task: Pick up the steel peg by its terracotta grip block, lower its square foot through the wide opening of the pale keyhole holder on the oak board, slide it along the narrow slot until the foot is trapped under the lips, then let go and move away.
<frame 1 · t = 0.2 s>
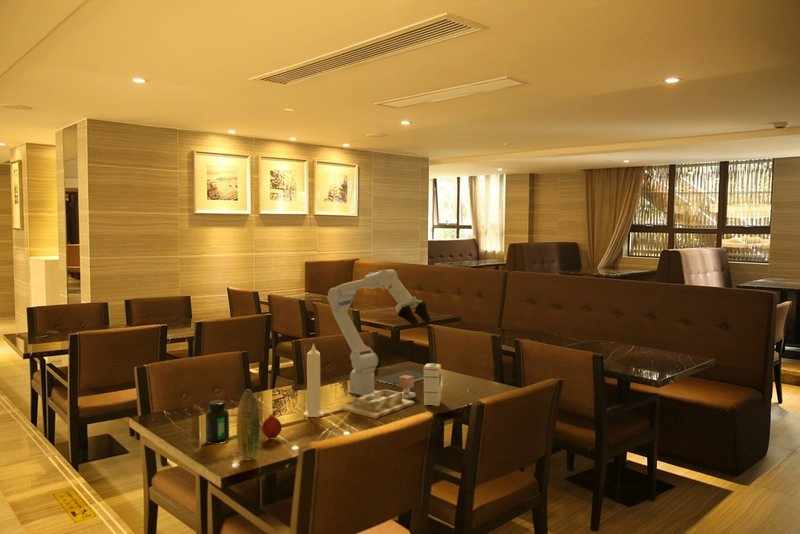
hand: (422, 322, 217), 31 cm above the table, tool tilted 45°, fingers open, 7 cm apart
notebook: (403, 380, 258), on the table
supplement bottle: (217, 441, 182), on the table
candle: (313, 415, 208), on the table
onion: (271, 440, 183), on the table
holder: (382, 405, 219), on the table
syrup box: (432, 404, 221), on the table
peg: (406, 397, 230), on the table
vegetable: (248, 459, 168), on the table
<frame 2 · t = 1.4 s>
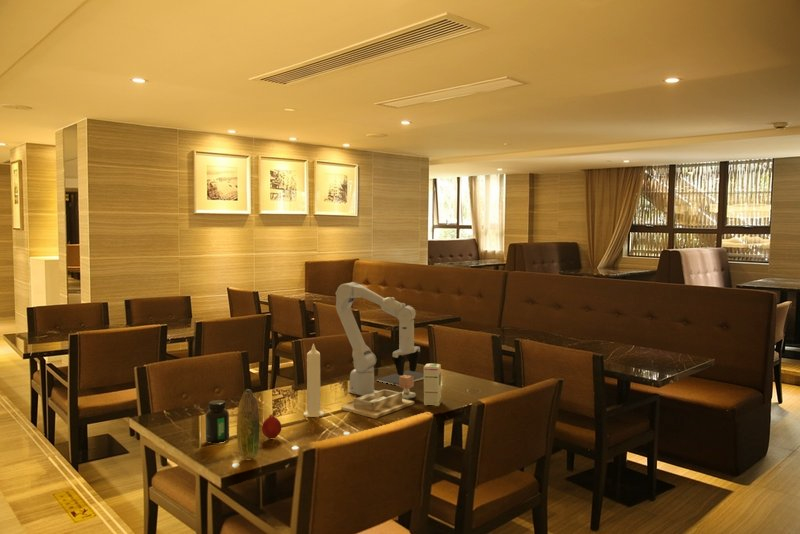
hand: (406, 373, 230), 9 cm above the table, tool pointing down, fingers open, 7 cm apart
nothing on the table moved.
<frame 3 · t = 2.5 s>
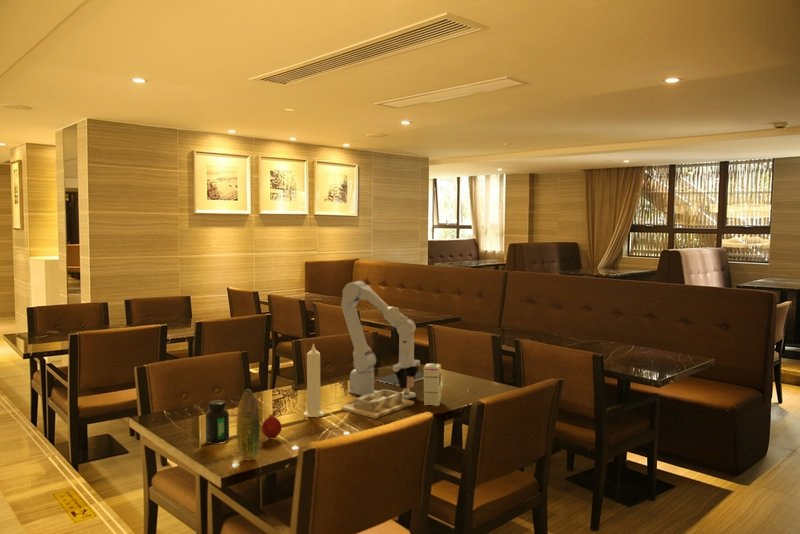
hand: (406, 386, 230), 4 cm above the table, tool pointing down, fingers closed on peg, 4 cm apart
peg: (406, 396, 230), on the table, touching gripper
everything else where it was.
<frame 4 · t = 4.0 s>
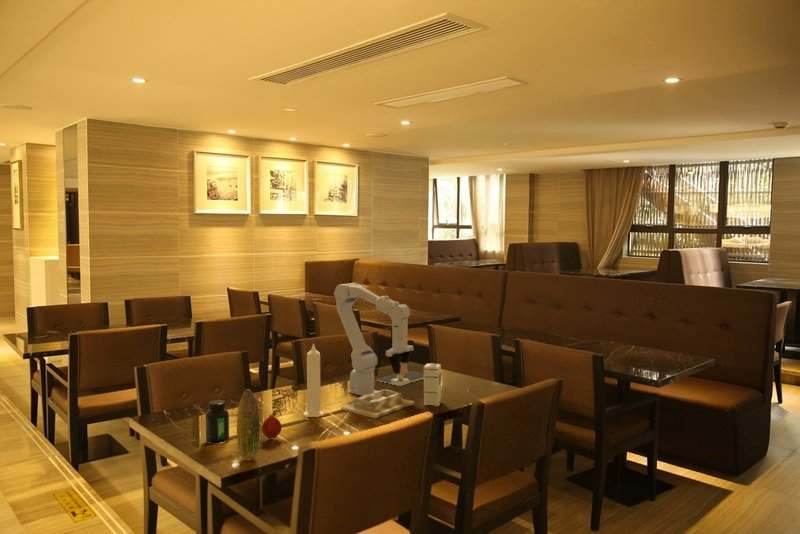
hand: (399, 372, 226), 10 cm above the table, tool pointing down, fingers closed on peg, 4 cm apart
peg: (400, 383, 227), point 6 cm above the table, touching gripper
everything else where it was.
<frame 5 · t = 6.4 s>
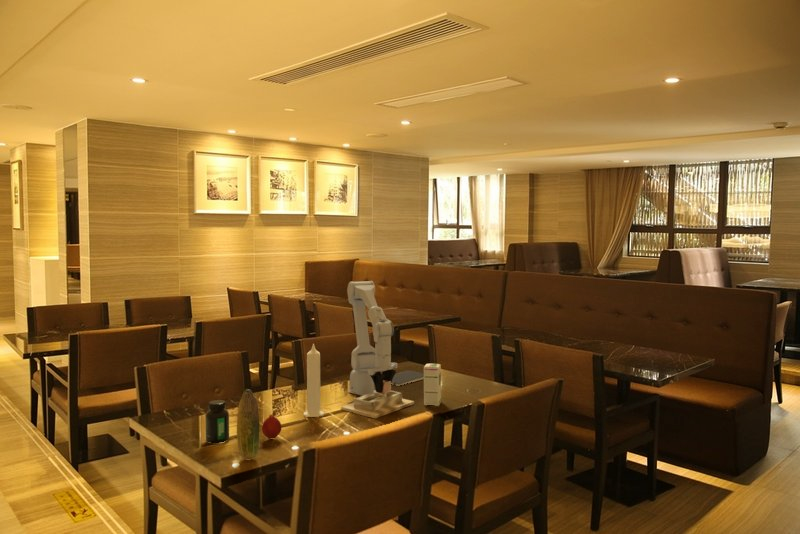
hand: (382, 390, 219), 5 cm above the table, tool pointing down, fingers closed on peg, 4 cm apart
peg: (383, 402, 219), point 1 cm above the table, touching gripper
everything else where it was.
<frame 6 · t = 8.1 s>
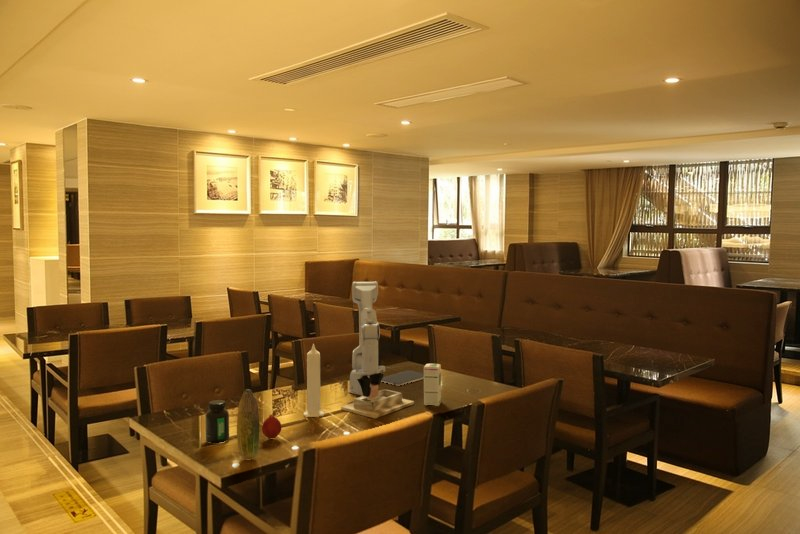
hand: (370, 395, 214), 5 cm above the table, tool pointing down, fingers closed on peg, 4 cm apart
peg: (370, 406, 214), point 1 cm above the table, touching gripper
everything else where it was.
when the fingers open (5 cm above the table, at t = 9.0 s): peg stays where it is, resting on holder.
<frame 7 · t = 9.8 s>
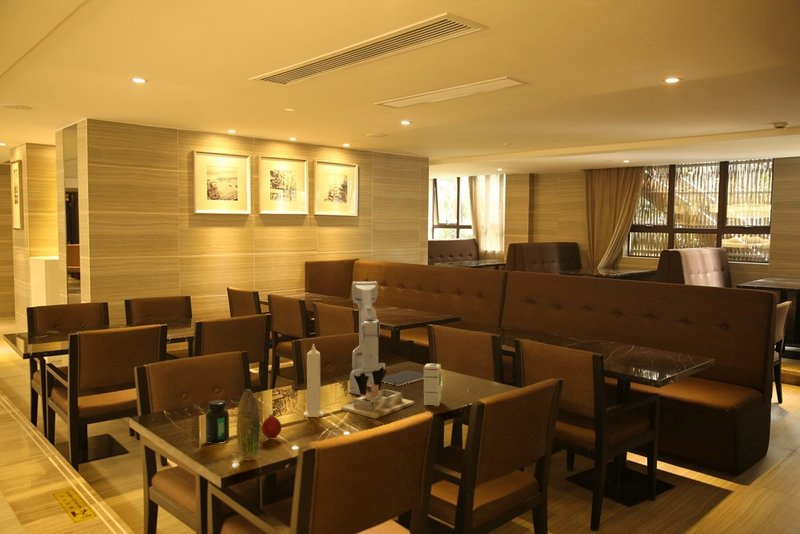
hand: (370, 392, 214), 6 cm above the table, tool pointing down, fingers open, 7 cm apart
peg: (370, 406, 214), point 1 cm above the table, touching holder
everything else where it was.
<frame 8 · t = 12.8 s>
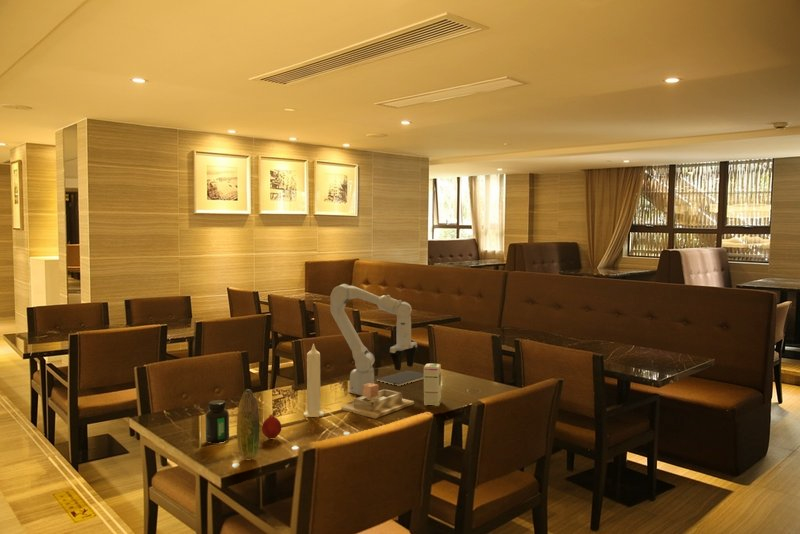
hand: (403, 368, 233), 10 cm above the table, tool pointing down, fingers open, 7 cm apart
nothing on the table moved.
at the end: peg 0.2 cm from the target spot on the holder, point 1.0 cm above the holder's base; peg tilted 0°; the gripper is holding nothing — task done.
